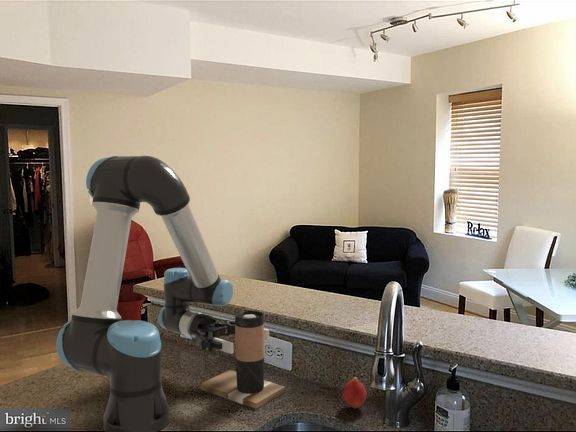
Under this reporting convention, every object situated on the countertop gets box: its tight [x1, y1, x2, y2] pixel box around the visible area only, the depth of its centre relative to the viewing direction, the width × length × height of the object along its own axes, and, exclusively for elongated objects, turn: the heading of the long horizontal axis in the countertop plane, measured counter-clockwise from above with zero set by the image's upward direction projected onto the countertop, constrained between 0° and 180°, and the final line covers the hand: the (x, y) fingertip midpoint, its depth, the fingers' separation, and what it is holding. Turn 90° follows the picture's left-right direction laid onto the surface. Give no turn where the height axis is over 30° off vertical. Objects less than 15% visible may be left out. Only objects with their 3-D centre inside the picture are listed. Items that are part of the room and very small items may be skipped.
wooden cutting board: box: [199, 369, 286, 410], centre depth 137 cm, size 20×12×2 cm, turn 54°
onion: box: [342, 376, 367, 409], centre depth 126 cm, size 6×6×8 cm
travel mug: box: [234, 310, 265, 394], centre depth 134 cm, size 8×8×20 cm
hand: (251, 341), depth 134 cm, fingers open, 13 cm apart
